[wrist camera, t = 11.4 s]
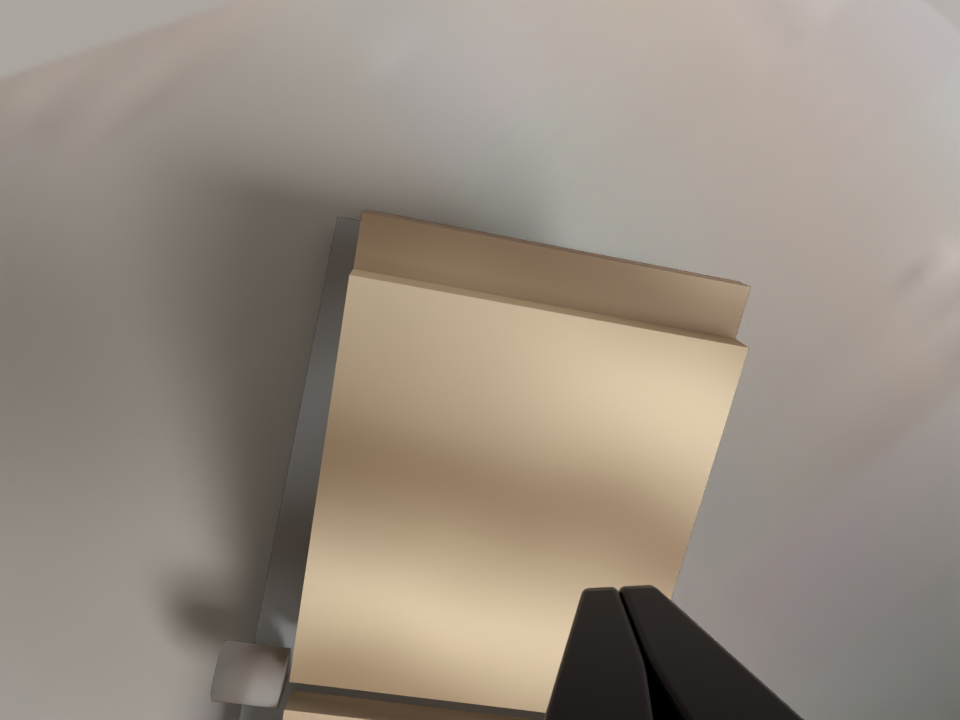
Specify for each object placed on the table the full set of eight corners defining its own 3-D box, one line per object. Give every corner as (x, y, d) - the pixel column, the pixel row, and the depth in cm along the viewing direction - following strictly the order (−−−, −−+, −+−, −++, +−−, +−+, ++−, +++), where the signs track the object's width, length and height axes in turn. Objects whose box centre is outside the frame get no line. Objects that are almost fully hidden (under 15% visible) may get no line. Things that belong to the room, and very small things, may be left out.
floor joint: (631, 1000, 20) (665, 1071, 17) (170, 963, 18) (139, 1036, 16) (701, 294, 23) (738, 273, 21) (319, 221, 22) (312, 191, 19)
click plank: (617, 678, 20) (632, 723, 18) (301, 638, 19) (289, 681, 17) (735, 280, 17) (765, 293, 15) (365, 208, 16) (358, 215, 14)
